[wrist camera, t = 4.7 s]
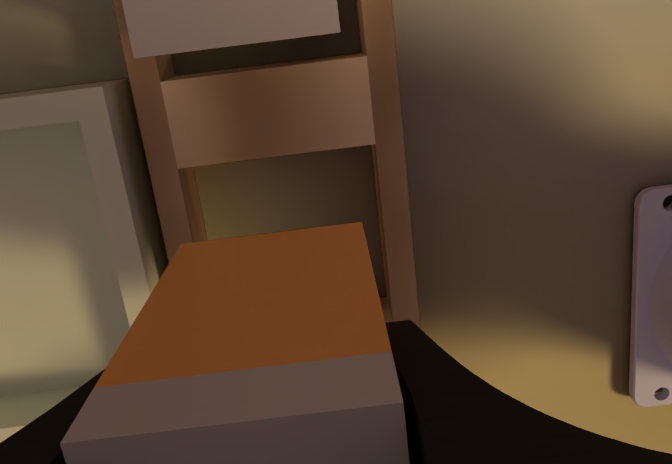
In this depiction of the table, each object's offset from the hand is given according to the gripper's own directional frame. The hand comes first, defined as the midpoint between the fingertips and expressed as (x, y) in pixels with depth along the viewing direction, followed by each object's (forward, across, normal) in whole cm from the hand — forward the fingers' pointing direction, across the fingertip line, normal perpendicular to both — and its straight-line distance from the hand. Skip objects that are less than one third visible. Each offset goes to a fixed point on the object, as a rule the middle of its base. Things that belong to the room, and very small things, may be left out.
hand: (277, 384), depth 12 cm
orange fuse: (+3, 0, 0) cm, 3 cm away
